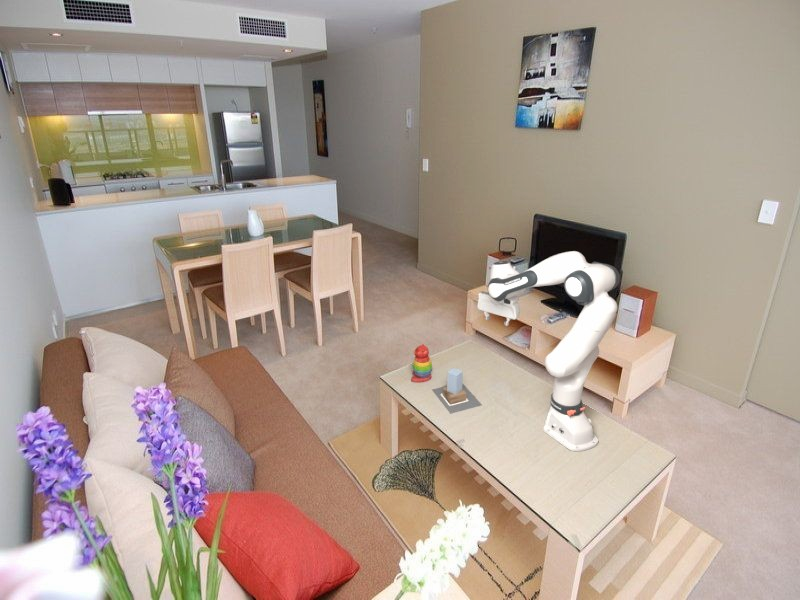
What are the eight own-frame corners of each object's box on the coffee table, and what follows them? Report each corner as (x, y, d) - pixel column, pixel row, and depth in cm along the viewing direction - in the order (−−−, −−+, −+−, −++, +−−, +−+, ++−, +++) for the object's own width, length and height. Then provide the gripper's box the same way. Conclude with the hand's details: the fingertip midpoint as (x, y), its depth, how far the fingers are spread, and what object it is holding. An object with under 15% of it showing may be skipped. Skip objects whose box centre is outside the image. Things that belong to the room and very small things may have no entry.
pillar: (462, 389, 213) (462, 371, 209) (456, 394, 209) (456, 376, 205) (453, 386, 216) (453, 367, 212) (447, 390, 212) (447, 372, 208)
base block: (466, 400, 212) (466, 393, 210) (450, 404, 210) (450, 397, 208) (458, 391, 219) (458, 383, 217) (442, 394, 216) (442, 387, 215)
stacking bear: (412, 371, 237) (412, 340, 230) (432, 372, 235) (432, 341, 228) (410, 382, 227) (409, 351, 220) (431, 384, 226) (431, 352, 218)
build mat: (482, 405, 209) (482, 405, 208) (450, 414, 204) (450, 413, 203) (461, 382, 226) (461, 382, 226) (431, 390, 221) (431, 389, 221)
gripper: (475, 292, 214) (474, 319, 220) (516, 302, 202) (513, 330, 208) (482, 288, 219) (481, 314, 224) (522, 298, 207) (520, 325, 212)
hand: (497, 322), depth 216 cm, fingers open, 8 cm apart
